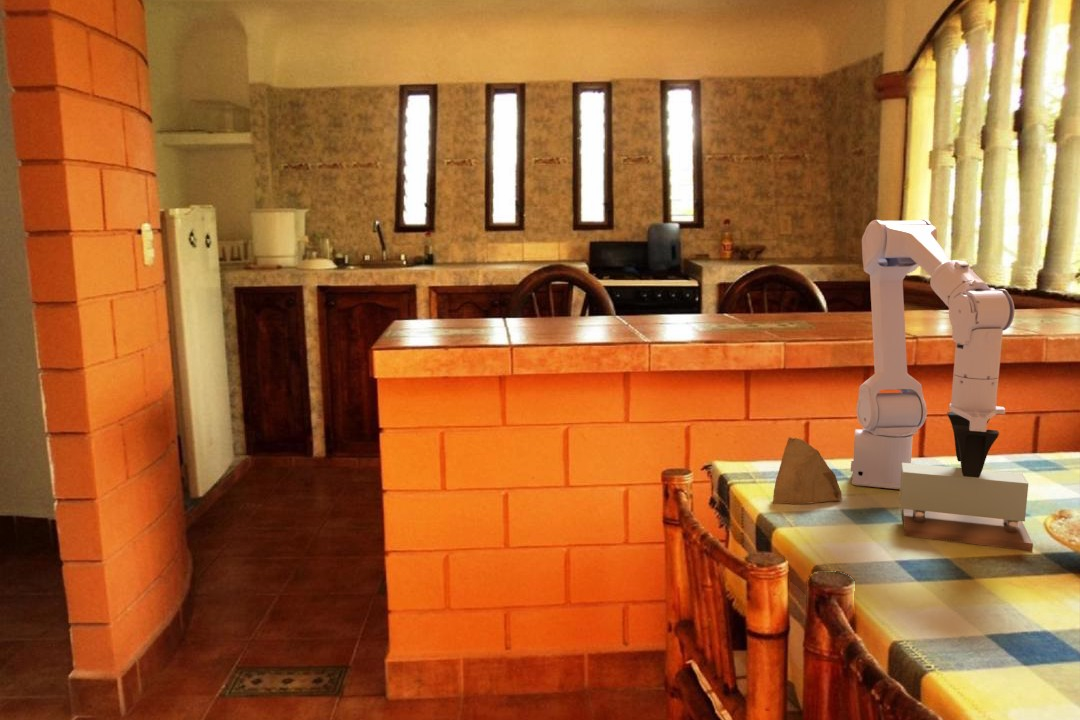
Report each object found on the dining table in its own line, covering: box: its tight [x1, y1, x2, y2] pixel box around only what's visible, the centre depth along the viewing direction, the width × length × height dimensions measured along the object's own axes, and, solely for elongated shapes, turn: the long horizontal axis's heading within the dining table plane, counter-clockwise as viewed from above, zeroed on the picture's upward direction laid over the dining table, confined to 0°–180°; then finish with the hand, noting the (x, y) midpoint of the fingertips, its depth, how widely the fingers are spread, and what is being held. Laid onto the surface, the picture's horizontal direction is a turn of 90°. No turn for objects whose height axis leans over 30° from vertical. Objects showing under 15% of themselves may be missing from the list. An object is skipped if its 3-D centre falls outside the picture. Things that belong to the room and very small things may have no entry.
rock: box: [772, 437, 843, 505], centre depth 138 cm, size 11×9×10 cm
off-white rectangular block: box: [899, 462, 1029, 522], centre depth 125 cm, size 16×5×6 cm, turn 70°
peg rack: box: [901, 509, 1034, 551], centre depth 126 cm, size 16×11×3 cm
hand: (967, 468), depth 125 cm, fingers open, 7 cm apart
